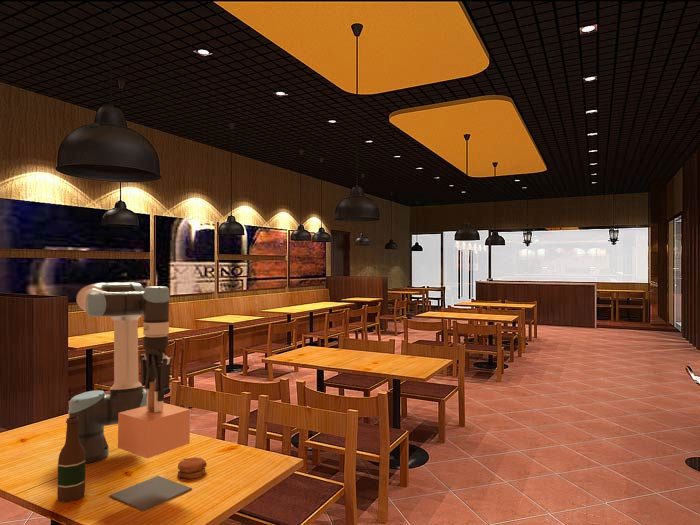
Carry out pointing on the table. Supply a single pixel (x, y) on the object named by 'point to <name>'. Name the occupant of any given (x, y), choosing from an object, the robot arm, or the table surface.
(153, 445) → the pink box with peg
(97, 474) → the table surface
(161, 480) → the mat
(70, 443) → the beer bottle
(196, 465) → the burger
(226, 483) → the table surface
